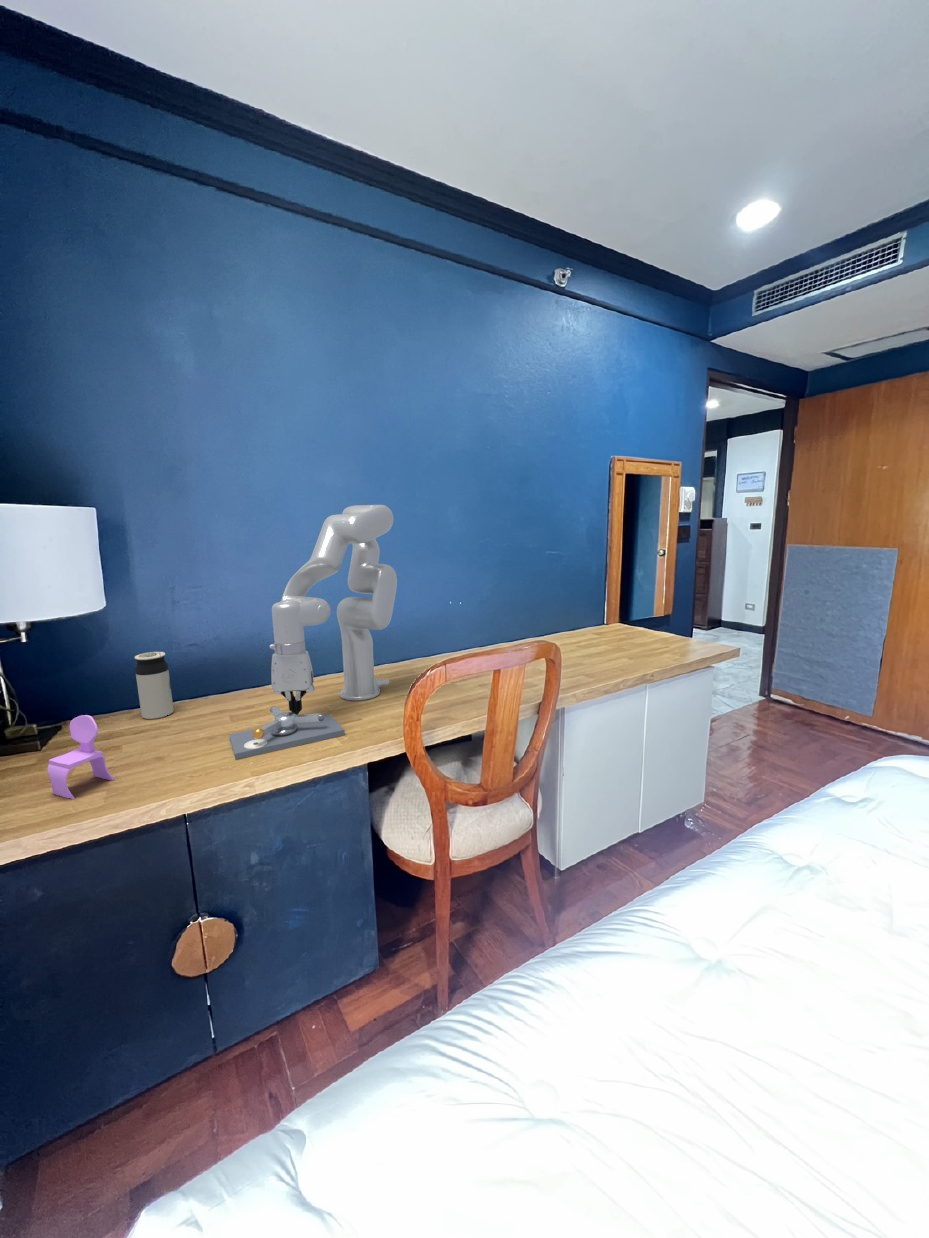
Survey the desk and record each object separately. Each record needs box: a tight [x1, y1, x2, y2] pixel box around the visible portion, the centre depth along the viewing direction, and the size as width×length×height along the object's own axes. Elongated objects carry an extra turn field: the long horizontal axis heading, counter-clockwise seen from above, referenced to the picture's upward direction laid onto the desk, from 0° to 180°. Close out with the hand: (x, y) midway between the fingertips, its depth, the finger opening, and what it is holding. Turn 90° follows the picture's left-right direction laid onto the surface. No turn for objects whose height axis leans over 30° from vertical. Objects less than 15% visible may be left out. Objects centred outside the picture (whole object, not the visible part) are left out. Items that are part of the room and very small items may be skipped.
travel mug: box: [134, 651, 175, 720], centre depth 143 cm, size 8×8×18 cm
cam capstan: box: [253, 705, 325, 739], centre depth 126 cm, size 16×17×4 cm
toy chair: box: [47, 714, 115, 800], centre depth 103 cm, size 8×9×15 cm
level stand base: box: [228, 713, 345, 760], centre depth 128 cm, size 26×13×2 cm, turn 121°
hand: (296, 712), depth 135 cm, fingers closed
